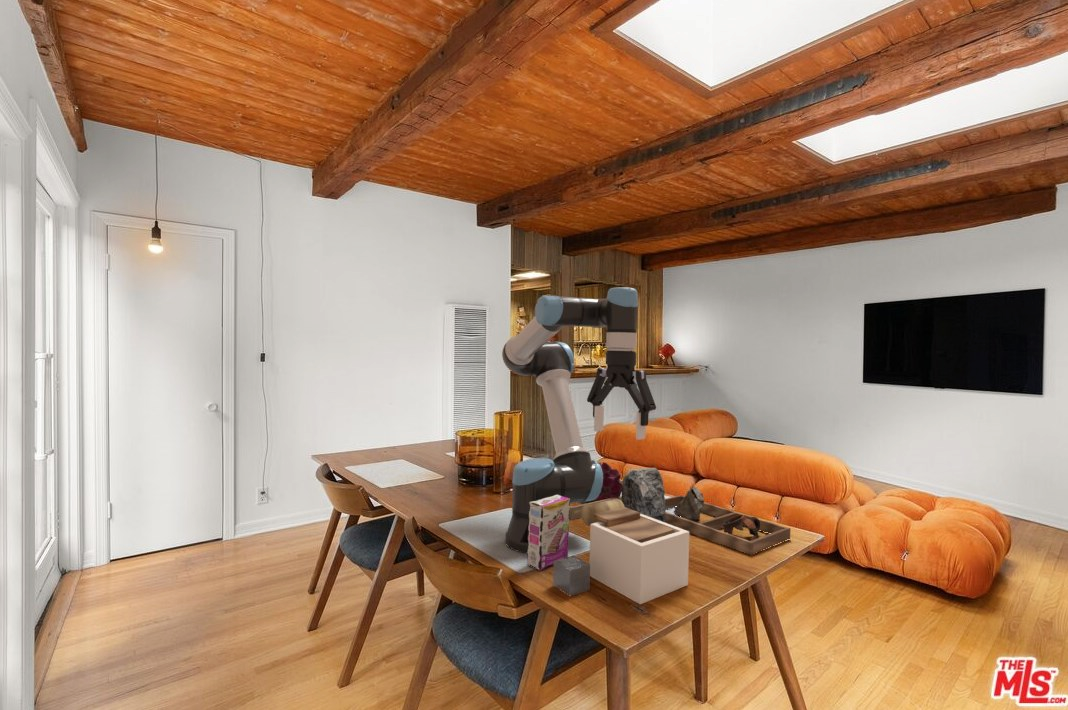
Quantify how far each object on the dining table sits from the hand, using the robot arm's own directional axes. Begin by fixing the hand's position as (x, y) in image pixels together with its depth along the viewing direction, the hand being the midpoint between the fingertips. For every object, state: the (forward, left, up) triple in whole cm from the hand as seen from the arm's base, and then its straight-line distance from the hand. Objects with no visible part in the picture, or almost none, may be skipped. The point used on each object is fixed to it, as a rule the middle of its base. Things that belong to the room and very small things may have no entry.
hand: (618, 434), depth 126 cm
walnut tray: (-6, +49, -35) cm, 60 cm away
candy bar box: (-13, -11, -35) cm, 39 cm away
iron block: (+1, -15, -35) cm, 38 cm away
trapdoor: (+2, +1, -24) cm, 24 cm away
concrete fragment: (-16, +49, -35) cm, 62 cm away
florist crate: (-49, +35, -35) cm, 70 cm away
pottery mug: (+5, +49, -35) cm, 60 cm away
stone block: (-13, +26, -35) cm, 45 cm away
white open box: (+7, +1, -35) cm, 35 cm away
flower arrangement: (-49, +35, -35) cm, 70 cm away
